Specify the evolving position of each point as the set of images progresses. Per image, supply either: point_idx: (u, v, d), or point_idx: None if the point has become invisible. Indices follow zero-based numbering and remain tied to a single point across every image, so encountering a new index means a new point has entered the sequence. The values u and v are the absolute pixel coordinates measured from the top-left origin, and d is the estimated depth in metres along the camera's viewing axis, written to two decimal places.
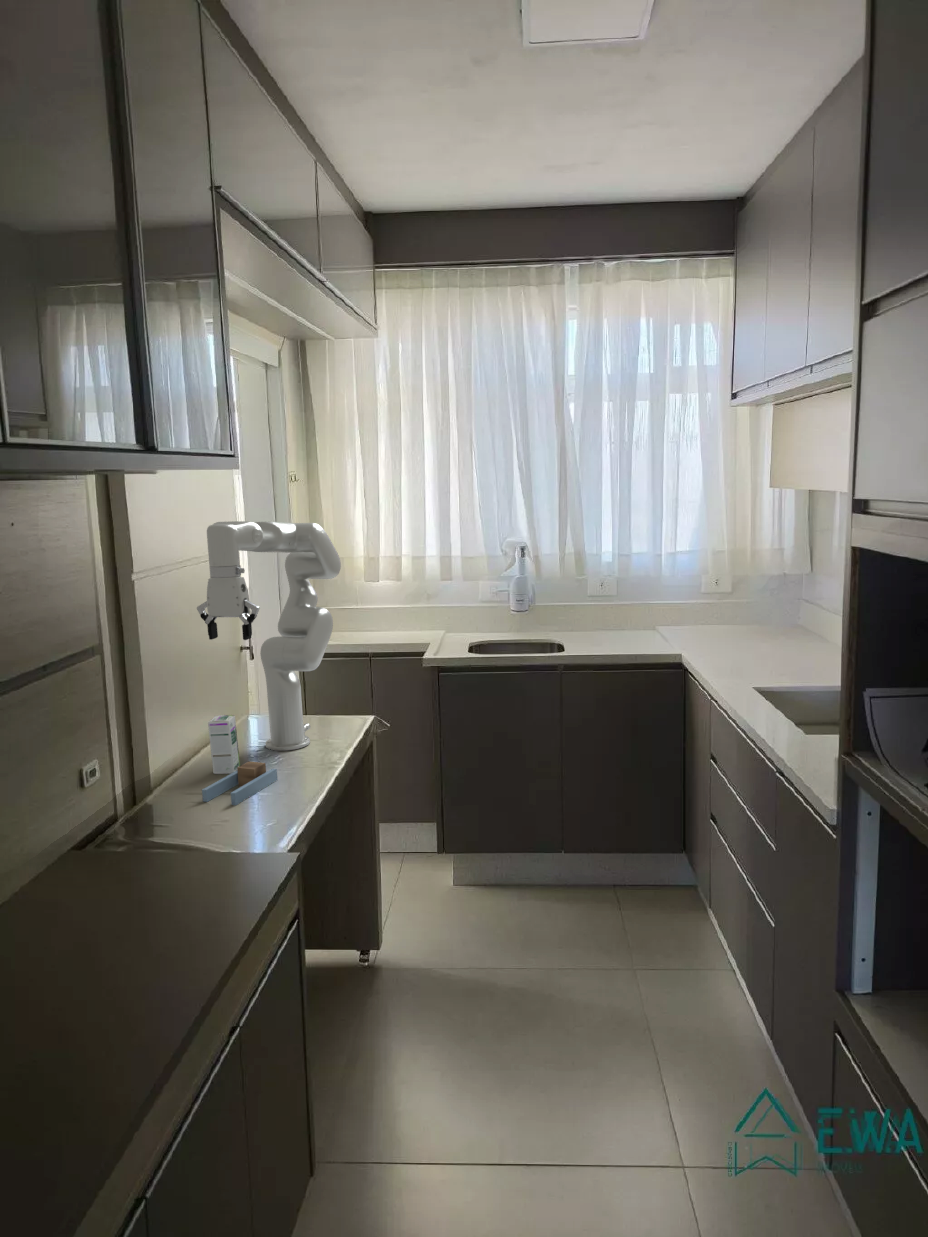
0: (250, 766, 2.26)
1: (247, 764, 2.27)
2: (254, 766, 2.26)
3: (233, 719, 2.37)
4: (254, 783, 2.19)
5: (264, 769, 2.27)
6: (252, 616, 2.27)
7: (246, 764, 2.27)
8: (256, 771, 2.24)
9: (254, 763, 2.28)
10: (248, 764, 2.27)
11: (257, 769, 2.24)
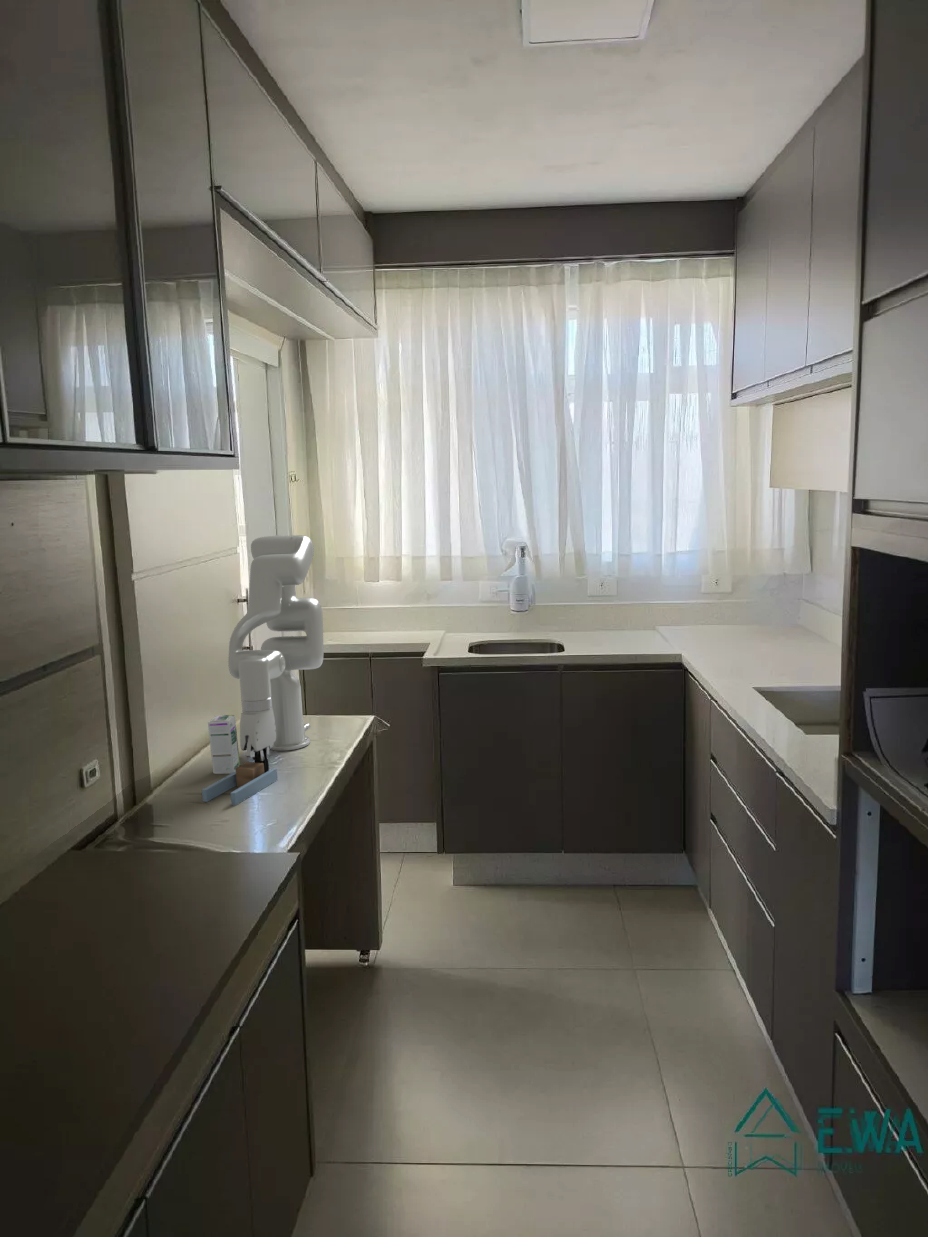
0: (248, 766, 2.25)
1: (245, 764, 2.26)
2: (253, 766, 2.25)
3: (233, 719, 2.37)
4: (254, 783, 2.19)
5: (262, 769, 2.27)
6: (269, 748, 2.32)
7: (244, 765, 2.26)
8: (255, 771, 2.24)
9: (253, 763, 2.27)
10: (247, 764, 2.27)
11: (255, 769, 2.24)
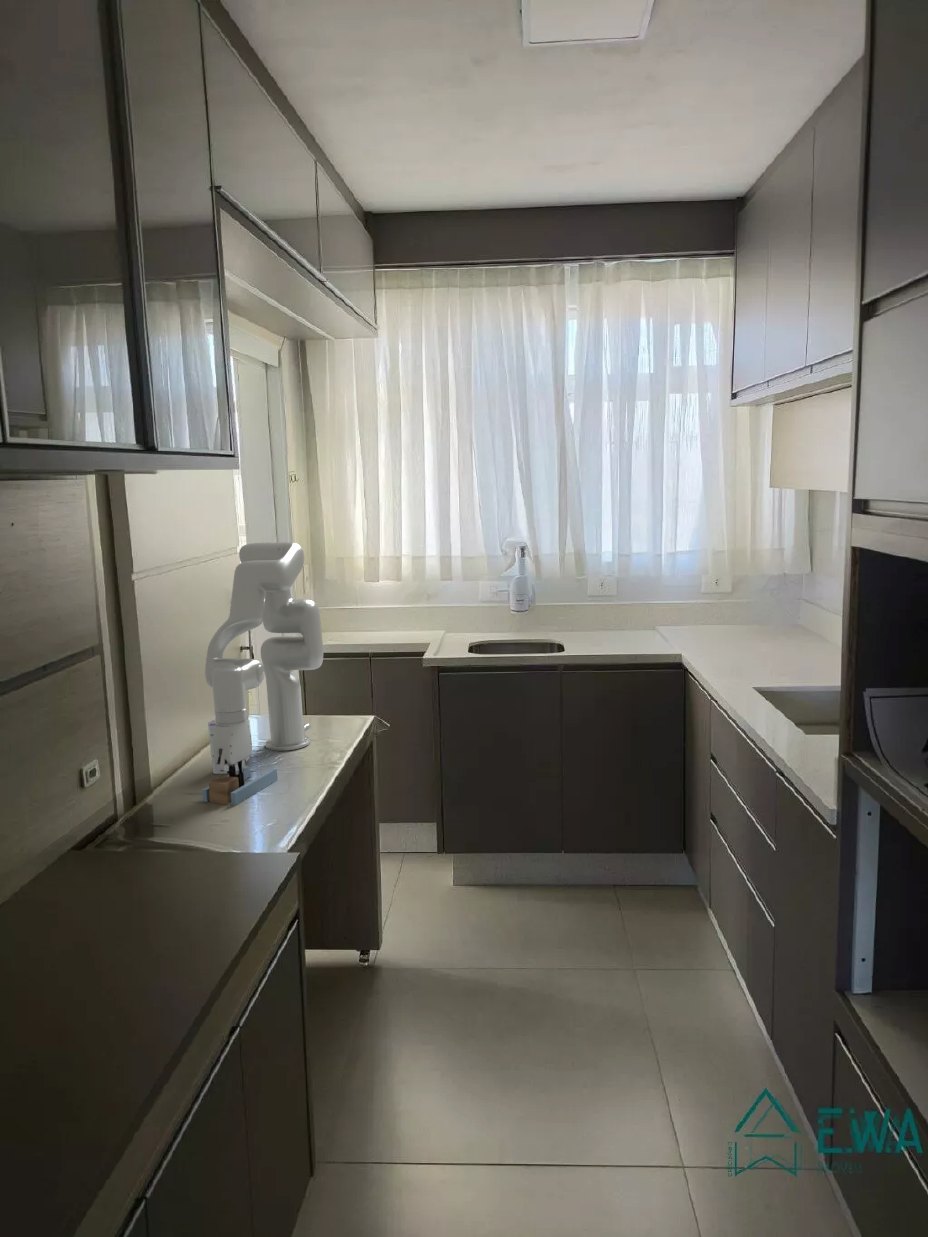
0: (222, 780, 2.15)
1: (219, 779, 2.16)
2: (226, 780, 2.15)
3: None
4: (254, 783, 2.19)
5: (237, 784, 2.17)
6: (245, 761, 2.22)
7: (218, 779, 2.16)
8: (228, 786, 2.14)
9: (227, 777, 2.17)
10: (220, 778, 2.17)
11: (229, 784, 2.14)
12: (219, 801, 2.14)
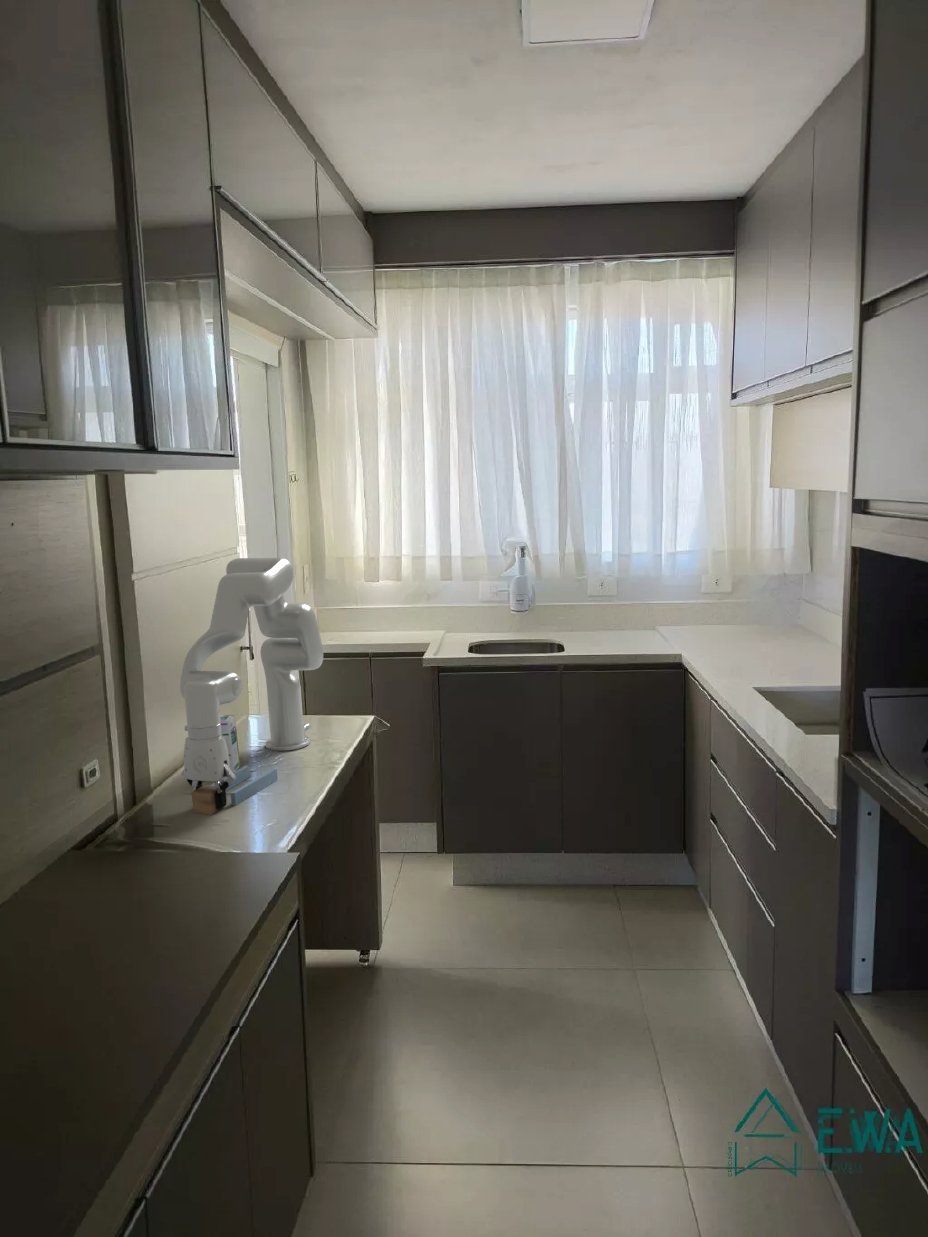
0: (205, 790, 2.09)
1: (203, 788, 2.10)
2: (210, 790, 2.09)
3: (233, 719, 2.37)
4: (254, 783, 2.19)
5: None
6: None
7: (201, 788, 2.10)
8: (212, 795, 2.08)
9: (210, 786, 2.11)
10: (204, 788, 2.11)
11: (212, 793, 2.08)
12: (202, 811, 2.08)
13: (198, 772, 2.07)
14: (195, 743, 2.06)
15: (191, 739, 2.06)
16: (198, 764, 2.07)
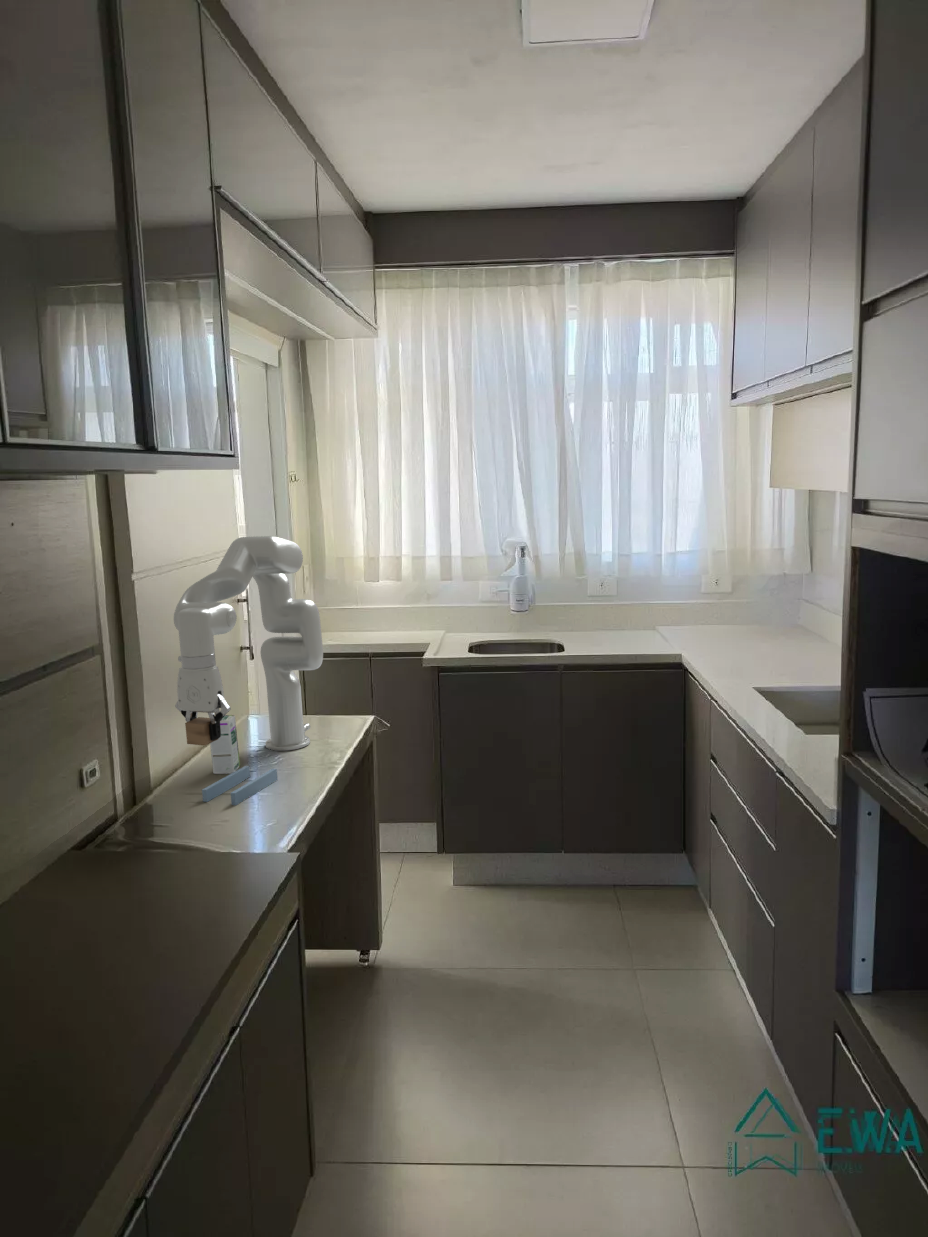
0: (199, 721, 2.06)
1: (197, 719, 2.08)
2: (204, 721, 2.06)
3: (233, 719, 2.37)
4: (254, 783, 2.19)
5: None
6: None
7: (195, 720, 2.08)
8: (206, 726, 2.05)
9: (205, 718, 2.09)
10: (198, 719, 2.08)
11: (206, 724, 2.05)
12: (196, 742, 2.05)
13: (192, 702, 2.05)
14: (189, 673, 2.04)
15: (185, 668, 2.03)
16: (192, 694, 2.04)
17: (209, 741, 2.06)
